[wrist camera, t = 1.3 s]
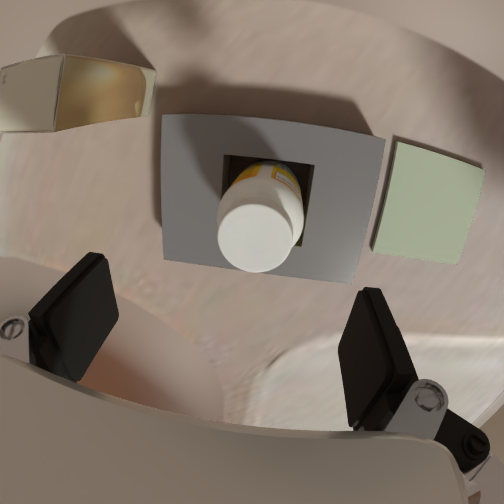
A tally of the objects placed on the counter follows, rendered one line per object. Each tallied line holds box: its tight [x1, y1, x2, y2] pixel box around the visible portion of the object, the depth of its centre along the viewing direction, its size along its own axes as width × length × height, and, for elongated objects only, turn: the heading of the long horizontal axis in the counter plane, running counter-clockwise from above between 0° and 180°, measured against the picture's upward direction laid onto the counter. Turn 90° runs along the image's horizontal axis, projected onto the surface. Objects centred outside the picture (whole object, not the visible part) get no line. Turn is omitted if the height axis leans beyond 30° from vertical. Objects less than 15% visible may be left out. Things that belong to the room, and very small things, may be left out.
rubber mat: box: [371, 141, 486, 265], centre depth 22 cm, size 10×10×1 cm
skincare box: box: [0, 53, 156, 133], centre depth 15 cm, size 6×4×12 cm
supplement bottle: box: [217, 160, 304, 272], centre depth 19 cm, size 5×5×10 cm
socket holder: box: [161, 113, 386, 284], centre depth 22 cm, size 16×12×3 cm
